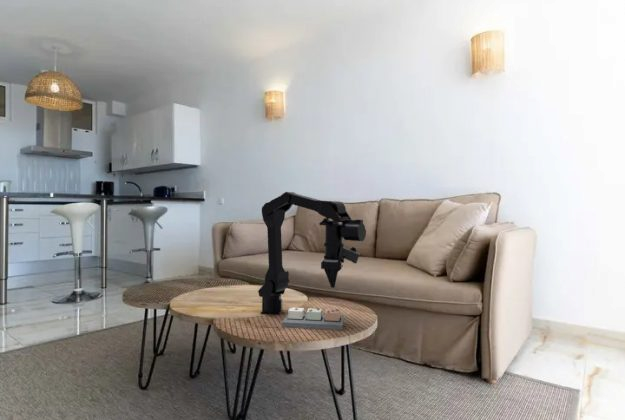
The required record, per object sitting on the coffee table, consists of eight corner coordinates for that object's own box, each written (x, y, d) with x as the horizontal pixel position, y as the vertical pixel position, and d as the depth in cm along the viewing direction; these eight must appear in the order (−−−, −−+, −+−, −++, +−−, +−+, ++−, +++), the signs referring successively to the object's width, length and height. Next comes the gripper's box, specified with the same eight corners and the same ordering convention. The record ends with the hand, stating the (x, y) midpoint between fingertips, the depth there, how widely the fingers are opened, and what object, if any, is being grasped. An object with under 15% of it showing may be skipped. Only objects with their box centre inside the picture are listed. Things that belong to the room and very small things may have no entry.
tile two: (306, 319, 128) (306, 311, 128) (308, 315, 132) (308, 307, 132) (320, 320, 127) (320, 311, 127) (321, 316, 132) (322, 308, 132)
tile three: (325, 320, 127) (325, 312, 127) (326, 316, 132) (326, 308, 132) (339, 321, 127) (339, 312, 127) (339, 317, 131) (340, 309, 131)
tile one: (288, 318, 129) (288, 310, 129) (290, 314, 133) (291, 306, 133) (302, 319, 128) (302, 310, 128) (304, 315, 133) (304, 307, 133)
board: (282, 326, 125) (282, 322, 125) (289, 316, 137) (289, 312, 137) (342, 330, 123) (342, 325, 123) (344, 319, 135) (344, 315, 135)
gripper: (358, 242, 119) (357, 294, 119) (359, 238, 137) (358, 283, 137) (321, 241, 120) (320, 293, 120) (327, 237, 139) (326, 281, 139)
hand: (333, 287), depth 129 cm, fingers closed
